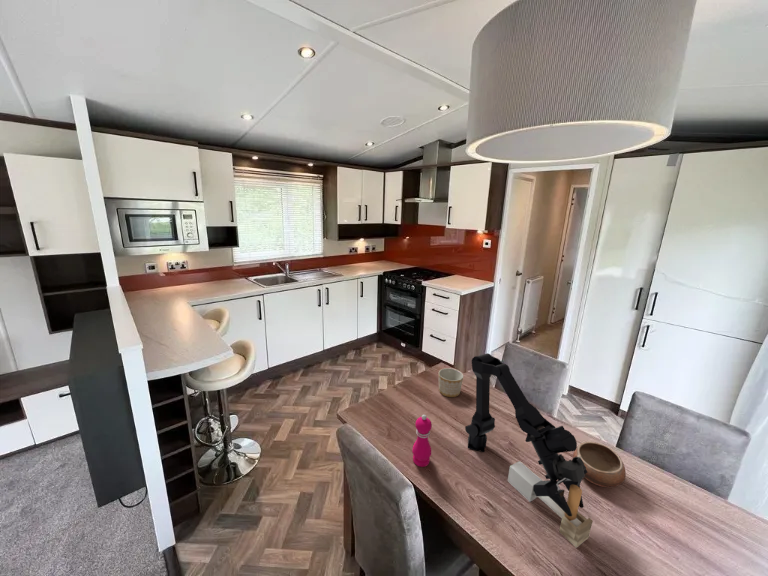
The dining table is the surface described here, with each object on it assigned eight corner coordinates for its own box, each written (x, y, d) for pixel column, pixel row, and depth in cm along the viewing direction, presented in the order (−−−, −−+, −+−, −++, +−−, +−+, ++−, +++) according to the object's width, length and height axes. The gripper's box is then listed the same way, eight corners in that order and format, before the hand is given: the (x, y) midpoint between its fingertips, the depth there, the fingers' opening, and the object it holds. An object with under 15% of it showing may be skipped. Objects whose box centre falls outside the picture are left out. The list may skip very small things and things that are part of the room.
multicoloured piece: (527, 490, 103) (533, 459, 99) (533, 486, 104) (539, 456, 101) (575, 533, 89) (583, 499, 86) (581, 529, 90) (589, 495, 87)
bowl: (563, 472, 113) (567, 449, 111) (580, 453, 122) (585, 431, 120) (613, 504, 101) (619, 479, 99) (628, 480, 110) (634, 457, 108)
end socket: (559, 531, 92) (562, 514, 90) (571, 522, 95) (575, 505, 93) (576, 548, 88) (580, 530, 86) (588, 537, 90) (592, 520, 89)
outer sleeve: (507, 481, 109) (509, 466, 107) (517, 475, 111) (519, 461, 109) (529, 502, 101) (532, 486, 99) (539, 495, 103) (542, 480, 102)
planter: (436, 384, 168) (437, 367, 166) (459, 386, 167) (461, 368, 165) (438, 398, 156) (439, 379, 153) (463, 400, 155) (465, 381, 152)
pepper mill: (430, 469, 113) (433, 423, 108) (410, 466, 114) (413, 420, 109) (431, 454, 120) (434, 410, 115) (412, 451, 121) (415, 407, 116)
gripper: (548, 463, 86) (581, 528, 79) (586, 441, 94) (619, 499, 88) (520, 465, 94) (548, 525, 88) (558, 445, 103) (585, 498, 96)
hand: (576, 511), depth 90 cm, fingers open, 5 cm apart
